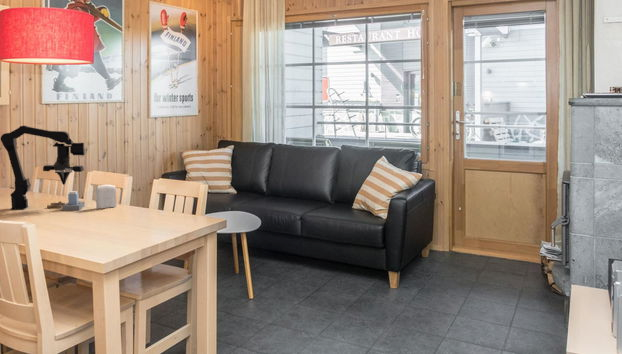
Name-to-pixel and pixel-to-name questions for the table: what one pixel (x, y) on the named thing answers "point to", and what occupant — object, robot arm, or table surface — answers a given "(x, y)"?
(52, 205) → the holster
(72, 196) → the plug
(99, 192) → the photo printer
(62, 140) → the robot arm
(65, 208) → the port
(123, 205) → the table surface
